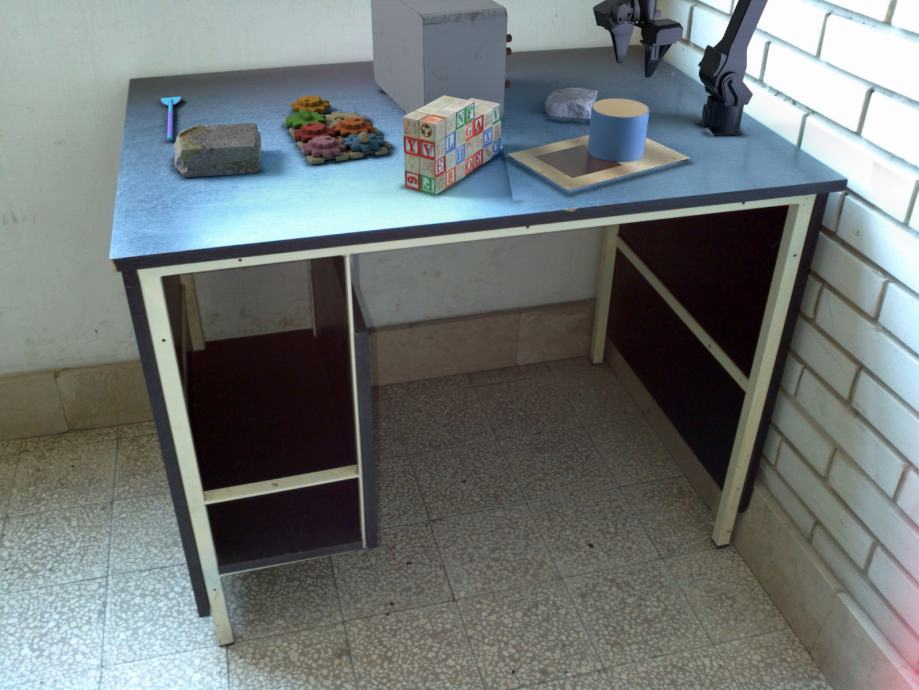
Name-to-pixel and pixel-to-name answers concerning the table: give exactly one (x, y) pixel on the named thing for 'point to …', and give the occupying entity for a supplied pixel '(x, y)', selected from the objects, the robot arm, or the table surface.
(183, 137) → the geological specimen
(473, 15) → the vintage electronic device
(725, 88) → the robot arm
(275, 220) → the table surface
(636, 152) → the blue cylinder
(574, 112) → the stone block
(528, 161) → the birch board
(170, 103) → the blue scraper
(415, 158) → the stack of blocks
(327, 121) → the gear puzzle
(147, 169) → the table surface
